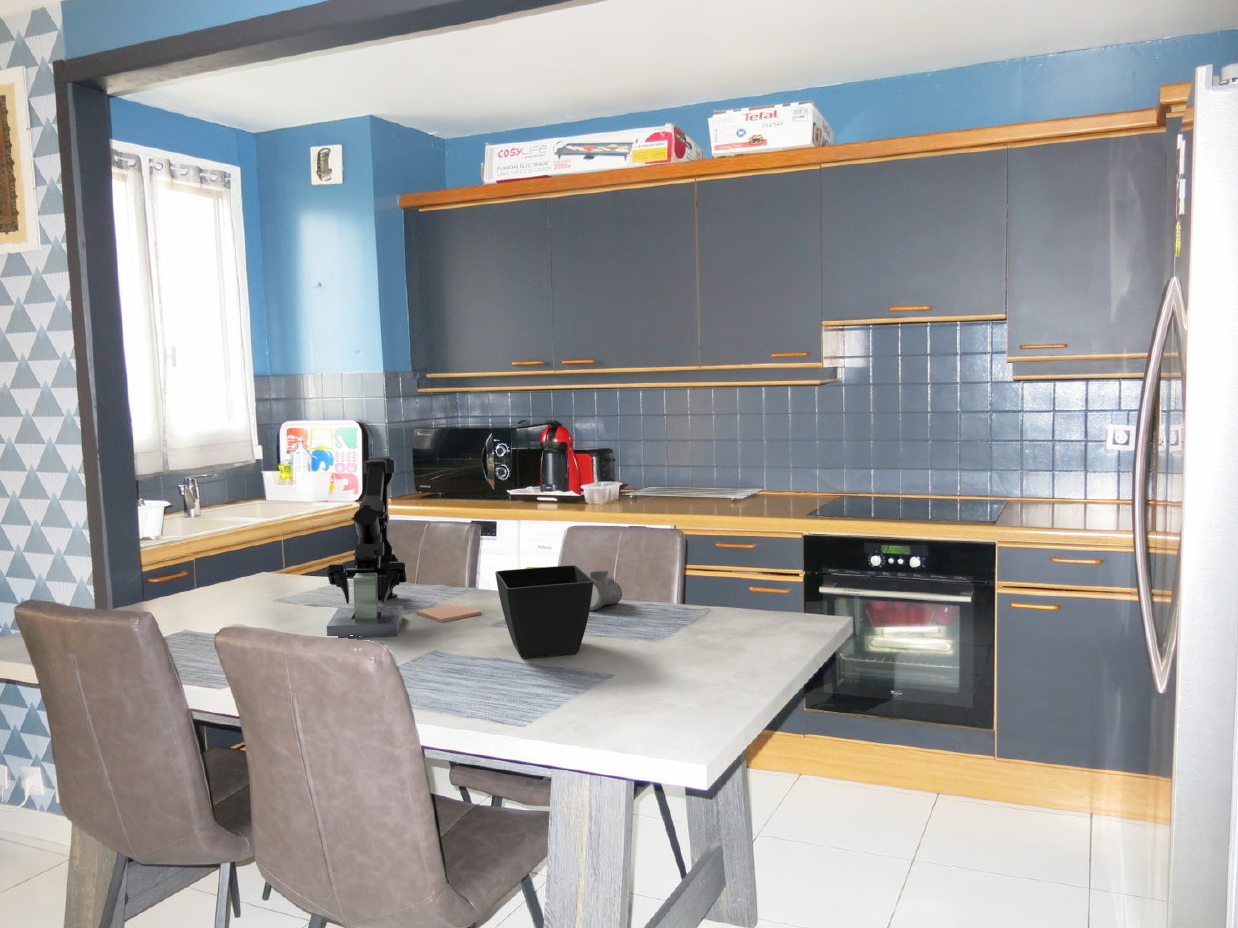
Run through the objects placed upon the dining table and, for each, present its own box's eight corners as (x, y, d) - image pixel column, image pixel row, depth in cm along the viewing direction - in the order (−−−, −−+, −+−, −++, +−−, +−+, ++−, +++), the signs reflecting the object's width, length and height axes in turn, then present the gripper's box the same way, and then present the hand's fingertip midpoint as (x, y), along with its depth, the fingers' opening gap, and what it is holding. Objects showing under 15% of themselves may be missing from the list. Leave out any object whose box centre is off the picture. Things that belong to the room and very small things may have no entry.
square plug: (357, 625, 240) (356, 573, 238) (378, 624, 240) (377, 572, 239) (355, 630, 235) (353, 577, 234) (376, 629, 235) (374, 576, 234)
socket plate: (338, 619, 245) (338, 608, 245) (403, 617, 247) (403, 605, 247) (327, 638, 228) (326, 625, 227) (396, 635, 230) (396, 623, 229)
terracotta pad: (416, 613, 251) (416, 610, 251) (456, 606, 259) (456, 603, 259) (441, 622, 242) (441, 619, 242) (481, 614, 250) (481, 611, 250)
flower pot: (508, 664, 206) (507, 586, 204) (495, 641, 224) (494, 569, 222) (595, 657, 211) (595, 581, 209) (576, 635, 229) (575, 564, 227)
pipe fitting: (599, 611, 250) (599, 571, 250) (575, 610, 255) (575, 570, 255) (628, 608, 259) (628, 569, 260) (604, 606, 264) (604, 568, 265)
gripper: (326, 531, 238) (320, 585, 228) (404, 529, 241) (402, 582, 231) (332, 557, 247) (327, 610, 237) (408, 555, 249) (405, 607, 239)
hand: (365, 602), depth 236 cm, fingers open, 8 cm apart
